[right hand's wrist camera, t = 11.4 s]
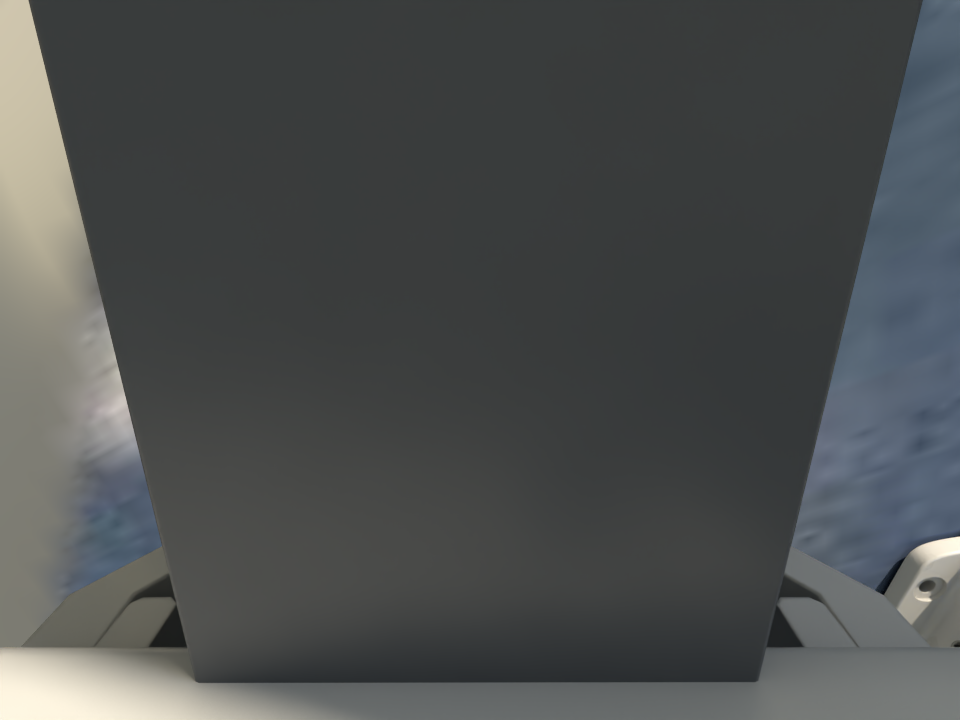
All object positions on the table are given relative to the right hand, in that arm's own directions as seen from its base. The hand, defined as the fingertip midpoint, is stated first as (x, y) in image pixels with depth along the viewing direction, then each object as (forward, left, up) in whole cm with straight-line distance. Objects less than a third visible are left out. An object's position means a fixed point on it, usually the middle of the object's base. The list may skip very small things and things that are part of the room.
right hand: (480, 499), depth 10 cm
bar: (+7, +3, -4) cm, 9 cm away
